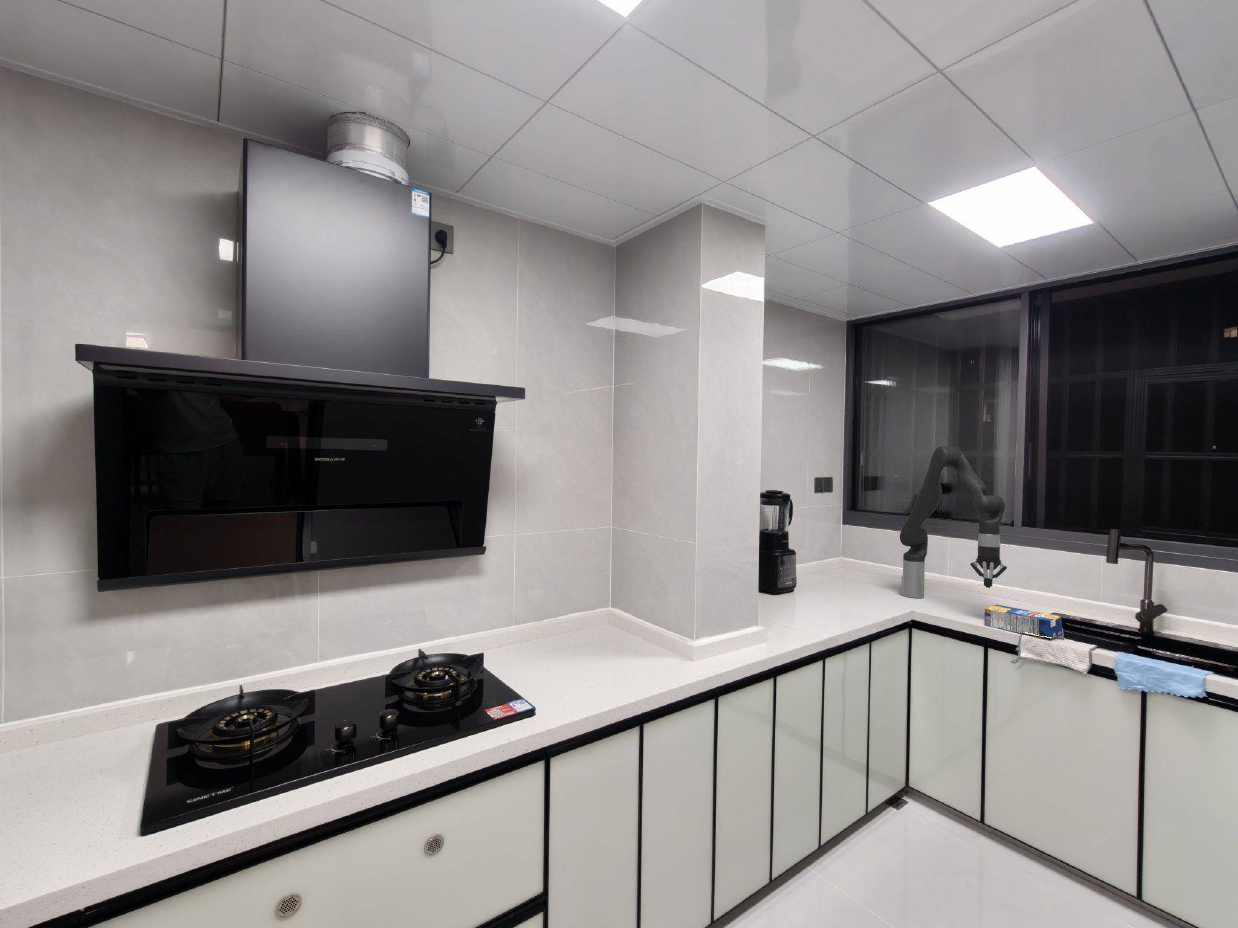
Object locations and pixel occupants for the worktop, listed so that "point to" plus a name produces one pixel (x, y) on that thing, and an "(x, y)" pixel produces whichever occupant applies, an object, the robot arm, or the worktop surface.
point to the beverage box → (1023, 621)
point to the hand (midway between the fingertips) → (988, 587)
